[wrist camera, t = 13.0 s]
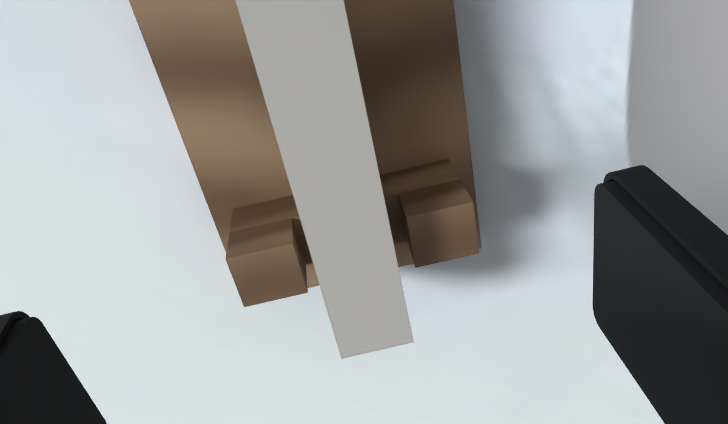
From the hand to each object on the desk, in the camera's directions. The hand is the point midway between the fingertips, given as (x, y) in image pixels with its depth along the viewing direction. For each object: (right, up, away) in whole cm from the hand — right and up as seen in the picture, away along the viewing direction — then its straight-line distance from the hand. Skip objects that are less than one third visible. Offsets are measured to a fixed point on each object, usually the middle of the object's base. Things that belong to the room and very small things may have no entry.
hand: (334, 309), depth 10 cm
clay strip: (-1, +6, +12) cm, 14 cm away
